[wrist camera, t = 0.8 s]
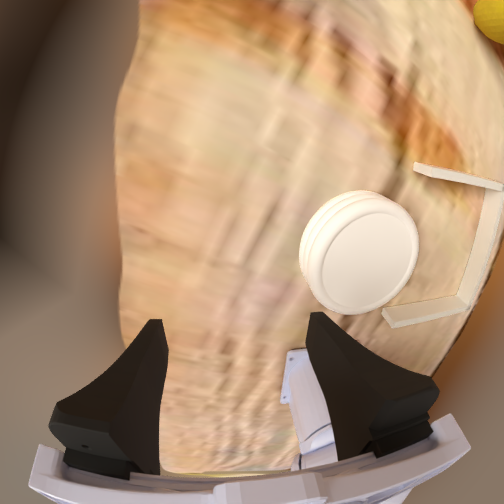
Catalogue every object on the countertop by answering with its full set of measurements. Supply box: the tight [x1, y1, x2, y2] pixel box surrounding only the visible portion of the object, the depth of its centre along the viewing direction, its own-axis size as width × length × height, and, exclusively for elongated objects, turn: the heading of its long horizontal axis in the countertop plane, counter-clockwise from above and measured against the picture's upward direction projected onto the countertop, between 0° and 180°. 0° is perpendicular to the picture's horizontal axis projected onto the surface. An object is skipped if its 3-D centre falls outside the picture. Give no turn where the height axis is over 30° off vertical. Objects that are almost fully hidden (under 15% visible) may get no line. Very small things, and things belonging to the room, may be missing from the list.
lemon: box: [473, 0, 504, 44], centre depth 10 cm, size 6×6×8 cm
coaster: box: [299, 190, 419, 315], centre depth 21 cm, size 10×10×4 cm
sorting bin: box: [381, 162, 504, 329], centre depth 23 cm, size 16×13×2 cm
